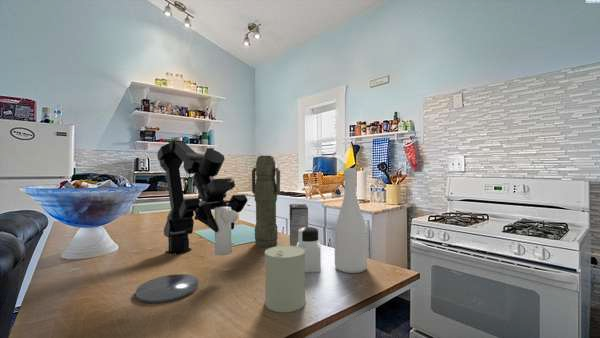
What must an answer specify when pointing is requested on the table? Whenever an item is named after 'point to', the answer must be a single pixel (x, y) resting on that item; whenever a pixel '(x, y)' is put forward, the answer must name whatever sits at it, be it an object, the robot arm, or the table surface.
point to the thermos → (266, 201)
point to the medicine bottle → (310, 248)
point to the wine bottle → (350, 230)
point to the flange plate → (167, 288)
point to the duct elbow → (224, 229)
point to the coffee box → (297, 221)
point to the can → (285, 278)
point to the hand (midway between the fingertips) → (225, 229)
